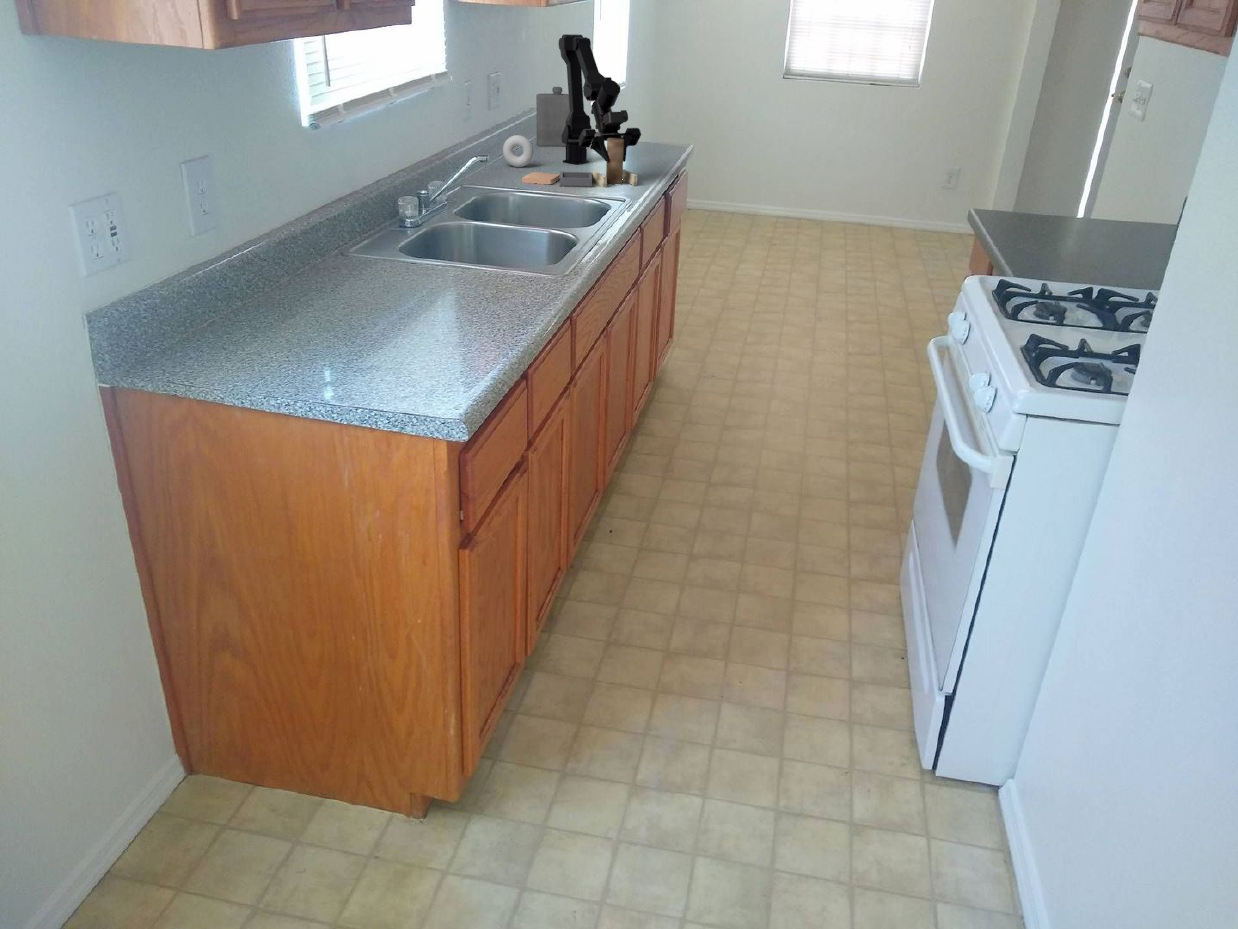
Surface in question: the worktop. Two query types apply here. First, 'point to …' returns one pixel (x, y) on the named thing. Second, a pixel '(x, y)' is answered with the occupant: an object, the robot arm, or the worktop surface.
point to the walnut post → (615, 160)
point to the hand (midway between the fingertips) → (616, 161)
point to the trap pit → (576, 179)
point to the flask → (551, 117)
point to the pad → (540, 178)
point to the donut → (524, 144)
